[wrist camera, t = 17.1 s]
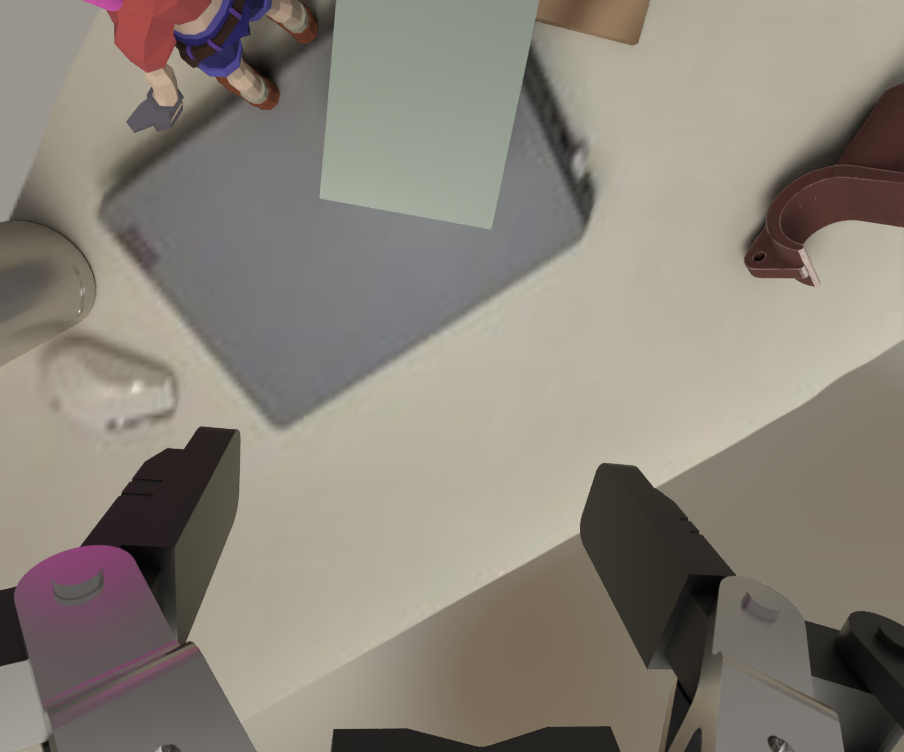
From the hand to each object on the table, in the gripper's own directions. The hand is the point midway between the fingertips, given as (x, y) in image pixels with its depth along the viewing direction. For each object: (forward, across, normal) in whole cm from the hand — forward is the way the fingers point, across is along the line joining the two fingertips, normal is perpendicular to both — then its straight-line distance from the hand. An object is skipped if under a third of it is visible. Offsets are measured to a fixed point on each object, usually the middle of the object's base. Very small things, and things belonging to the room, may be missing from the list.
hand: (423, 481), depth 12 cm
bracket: (+36, -38, -10) cm, 53 cm away
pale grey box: (+36, -1, -11) cm, 38 cm away
